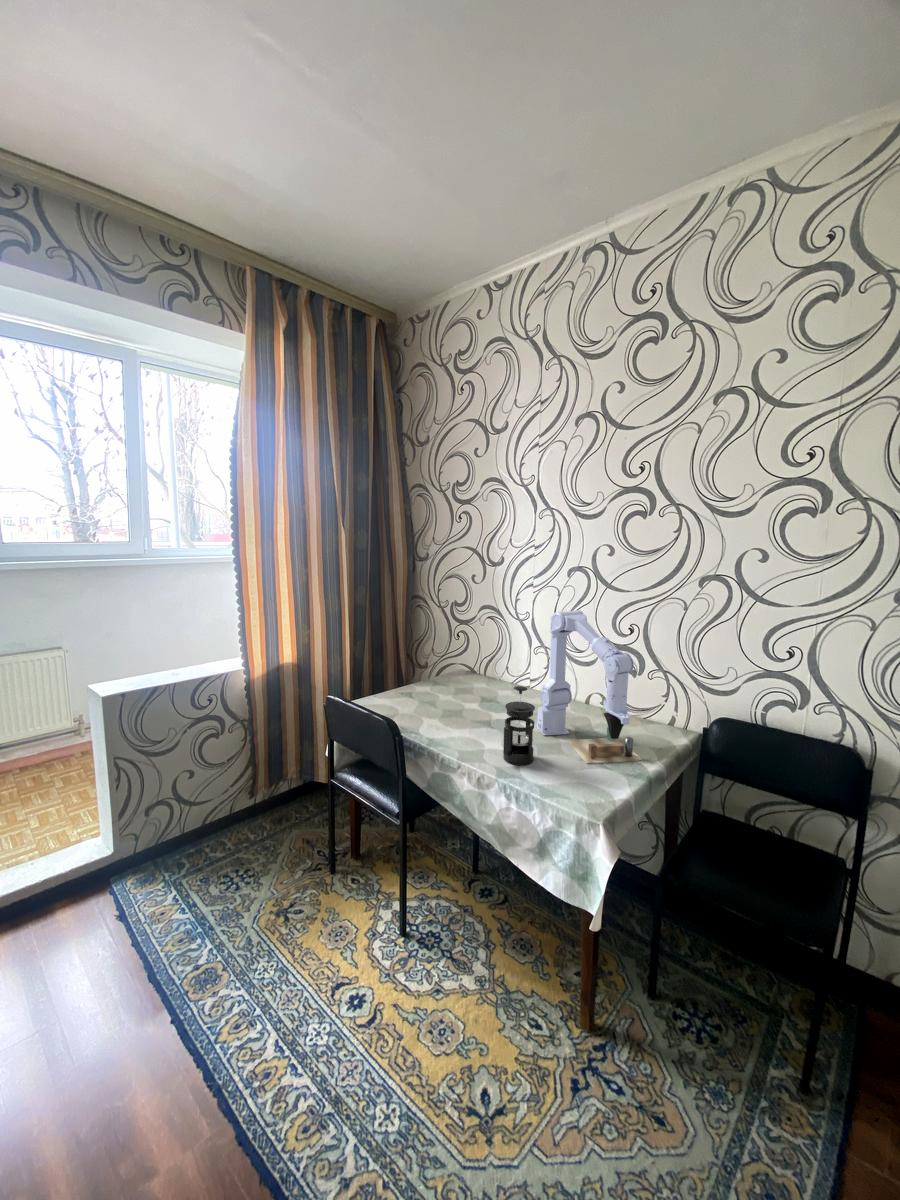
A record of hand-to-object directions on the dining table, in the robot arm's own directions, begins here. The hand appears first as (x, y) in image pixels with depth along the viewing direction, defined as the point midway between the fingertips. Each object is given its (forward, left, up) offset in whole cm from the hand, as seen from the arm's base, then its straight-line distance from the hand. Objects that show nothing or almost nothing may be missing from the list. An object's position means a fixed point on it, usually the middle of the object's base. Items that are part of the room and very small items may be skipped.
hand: (614, 737), depth 146 cm
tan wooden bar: (+1, +5, -8) cm, 10 cm away
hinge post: (+8, +6, -9) cm, 13 cm away
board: (+2, +11, -9) cm, 14 cm away
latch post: (+8, +17, -9) cm, 21 cm away
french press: (-27, +9, -9) cm, 30 cm away
